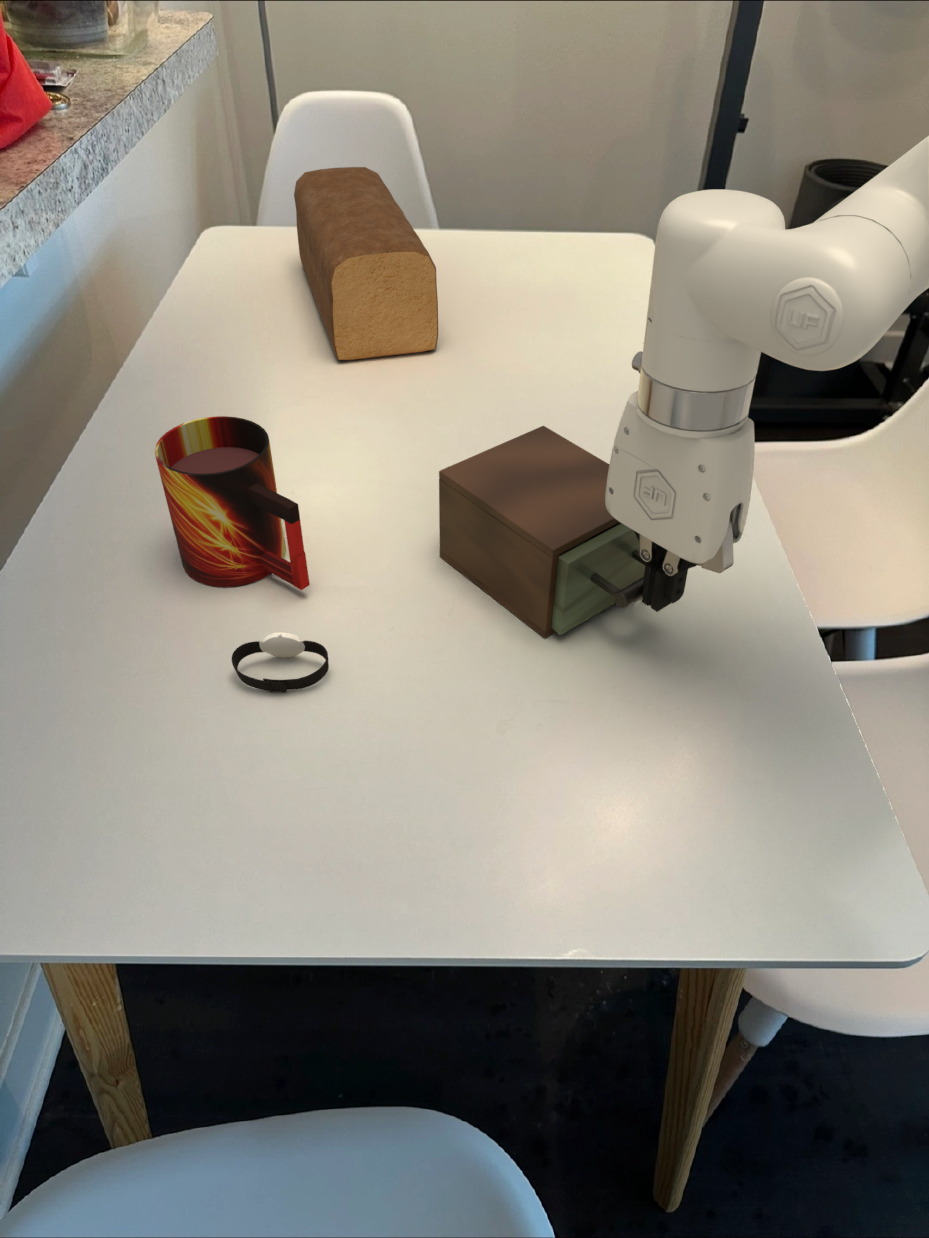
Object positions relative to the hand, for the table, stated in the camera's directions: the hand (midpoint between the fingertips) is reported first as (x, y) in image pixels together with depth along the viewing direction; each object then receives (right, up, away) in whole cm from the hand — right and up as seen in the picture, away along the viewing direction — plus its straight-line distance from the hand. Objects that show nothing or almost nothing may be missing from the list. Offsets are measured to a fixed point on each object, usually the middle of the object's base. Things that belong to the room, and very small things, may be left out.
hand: (661, 600), depth 74 cm
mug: (-36, +4, +13) cm, 38 cm away
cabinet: (-9, +3, +12) cm, 15 cm away
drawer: (-6, +2, +9) cm, 11 cm away
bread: (-30, +42, +55) cm, 76 cm away
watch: (-31, -6, +1) cm, 31 cm away
